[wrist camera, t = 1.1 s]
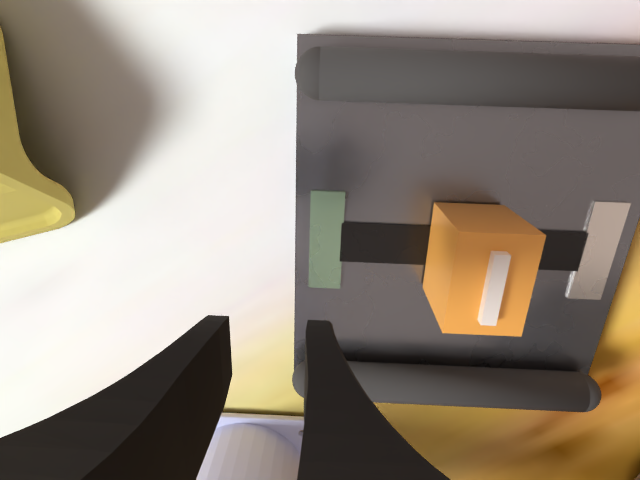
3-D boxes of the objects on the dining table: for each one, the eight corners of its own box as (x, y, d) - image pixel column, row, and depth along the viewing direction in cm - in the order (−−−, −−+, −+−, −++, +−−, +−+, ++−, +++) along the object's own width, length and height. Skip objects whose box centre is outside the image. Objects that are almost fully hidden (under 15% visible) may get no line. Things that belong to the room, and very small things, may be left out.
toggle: (487, 290, 20) (525, 342, 16) (422, 287, 20) (444, 338, 16) (504, 204, 19) (551, 239, 15) (433, 202, 19) (462, 235, 15)
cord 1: (581, 394, 23) (603, 421, 21) (294, 380, 23) (290, 406, 21) (591, 364, 22) (615, 390, 20) (294, 351, 22) (290, 375, 20)
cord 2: (674, 111, 17) (715, 114, 15) (296, 98, 18) (292, 100, 16) (691, 59, 17) (736, 56, 15) (297, 47, 17) (292, 43, 15)
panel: (567, 386, 24) (580, 403, 23) (295, 373, 24) (293, 389, 23) (672, 48, 17) (698, 46, 16) (299, 36, 18) (297, 33, 17)
